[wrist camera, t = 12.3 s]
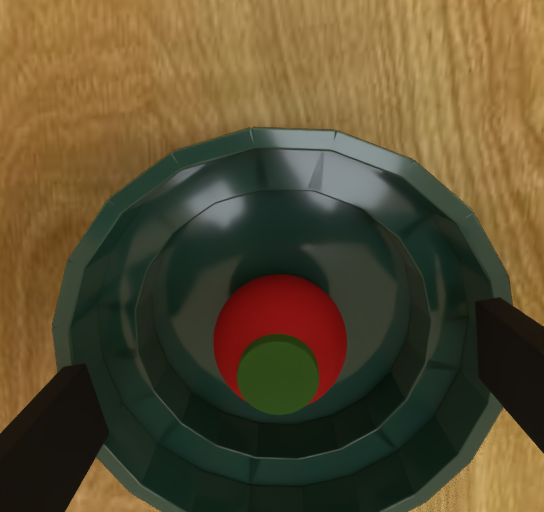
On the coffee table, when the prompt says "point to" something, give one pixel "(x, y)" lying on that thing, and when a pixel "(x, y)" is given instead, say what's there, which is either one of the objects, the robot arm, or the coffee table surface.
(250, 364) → the tomato
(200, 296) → the bowl
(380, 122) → the coffee table surface
